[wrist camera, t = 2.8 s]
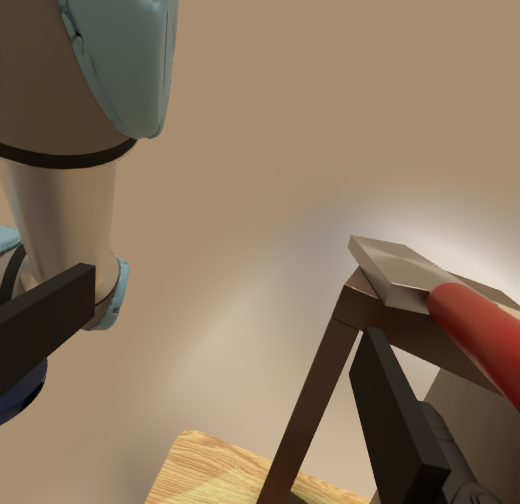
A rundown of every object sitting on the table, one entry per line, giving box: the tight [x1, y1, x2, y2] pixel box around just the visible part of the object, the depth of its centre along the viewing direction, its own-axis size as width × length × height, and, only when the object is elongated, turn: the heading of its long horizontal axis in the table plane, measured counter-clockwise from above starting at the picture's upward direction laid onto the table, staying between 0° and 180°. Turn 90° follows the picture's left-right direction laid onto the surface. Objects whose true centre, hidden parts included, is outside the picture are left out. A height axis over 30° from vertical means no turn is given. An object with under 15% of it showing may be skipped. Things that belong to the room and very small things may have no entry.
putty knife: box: [348, 235, 520, 413], centre depth 16 cm, size 25×5×2 cm, turn 172°
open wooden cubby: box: [256, 266, 520, 504], centre depth 29 cm, size 22×13×38 cm, turn 155°
